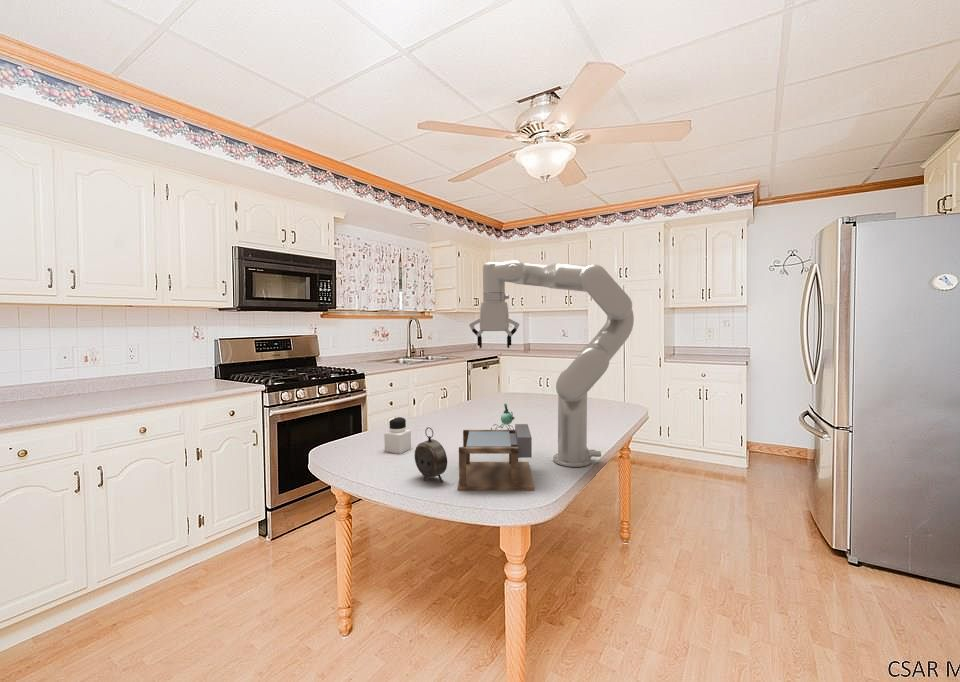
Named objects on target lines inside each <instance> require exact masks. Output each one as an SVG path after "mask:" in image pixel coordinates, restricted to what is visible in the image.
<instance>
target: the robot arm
mask: <svg viewBox="0 0 960 682" xmlns="http://www.w3.org/2000/svg"><path fill="white" fill-rule="evenodd" d="M505 283H512V284H514V285H523V286H532V287H545V288H549V289H554V290H555V289H556V290H565V291H566V290H567V291H575V292H583V293H587V294H588V295H589V296H590V297H591V298H592V300H594V302H595V303H596V304H597V305H598V306H599V308H601V310H602V311H603V312H604V314H605V315H606V321H605V324H604V325H603V326H602V327H601V329H600V330H599V331H598V332H597V333H596V335H595V336H594V337H593V338H592V340H591V341H590V342H589V343H588V344H586V345H585V347H583V348H582V350H580V353H579V354H578V355H577V356H576V358H575V359H574V360H572V362H571V363H570V365H568V367H567V368H566V369H564V370H562V371H561V373H560V374H559V376H558V378H557V380H556V383H555V390H556V393H557V395H558V396H557V397H558V398H557V453H555V454H554V455H553V458H552V459H553V462H554V463H556V464H557V465H560V466H563V467H569V468H570V467H571V468H582V467H587V466H588V465H590V464H591V463H592V457H594V458H601V457H602V451H601V450H596V449H589V448H588V445H587V443H588V441H587V438H588V437H587V434H588V429H587V428H588V423H587V422H588V392H589V391H590V390H591V389H592V388H593V387H594V386H595V385H596V383H597V382H598V381H599V380H600V379H601V378H602V377H603V375H604V374H605V373H606V372H607V370H608V368H609V366H610V361H611V359H612V358H613V357H614V356H615V354H617V353H618V351H619V350H620V349H621V347H623V345H624V344H625V343H626V341H627V340H628V338H629V337H630V335H631V333H632V331H633V329H634V328H633V327H634V321H635V317H634V312H633V302H632V299H631V297H630V296H629V295H628V294H627V293H626V292H625V290H623V288H622V287H621V286H620V285H619V284H618V283H617V281H615V279H614V278H613V277H612V276H611V274H610V273H609V272H608V271H607V270H606V269H605V268H604V267H603V266H602V265H599V264H595V263H592V264H589V265H587V264H586V265H584V264H571V263H562V262H556V263H551V264H532V263H526V262H525V263H523V262H521V261H520V260H517V259H516V260H515V259H512V260H506V261H501V262H500V261H487V262H485V263H484V264H483V265H482V294H483V295H482V297H483V298H482V299H483V300H482V302H480V306H479V307H480V309H479V318H478V319H476V320H474V321H473V322H471V323H469V325H468V326H469V327H470V330H471V331H472V333H473V334H474V335H475V336H476V337H477V346H478V347H479V349H482V347H483V344H482V343H483V342H482V341H483V340H482V339H483V336H482V334H483V333H484V332H505V333H506V334H507V336H506V348H508V349H510V346H512V336H513V335H515V333H516V332H517V330H518V329H519V326H520V323H519V322H517V321H515V320H513V319H511V318H510V316H509V306H508V303H507V301H506V300H509V299H510V295H509V294H506V289H505V288H506V284H505ZM478 324H479V330H477V329H476V327H475V326H476V325H478ZM510 324H511V325H513V326H514V327H513V328H512V329H511V330H510V328H509V327H510Z"/></svg>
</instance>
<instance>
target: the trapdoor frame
mask: <svg viewBox="0 0 960 682" xmlns="http://www.w3.org/2000/svg"><path fill="white" fill-rule="evenodd" d="M462 431H463V432H462V441H463V442H462V443H463V444H462V445H463V446H458V476H459V477H458V481H457V488H456V490H457V491H535V485H534V479H533V475H532V471H531V466H530V463H529V461H519V458H518V447H466V445H467V440H468V435H469V431H509V433H515V429H514V430H513V429H511V430H510V429H509V430H507V429H492V430H491V429H463V430H462ZM471 454H472V455H473V454H474V455H475V454H479V455H481V454H483V455H485V454H487V455H488V454H495V455H496V454H503V455H504V454H505V455H506V454H508V461H470V460H471V458H470V457H471V456H470V455H471Z"/></svg>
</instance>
